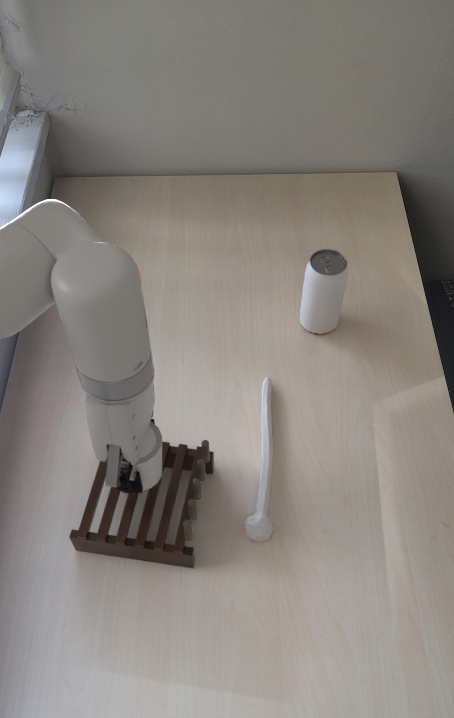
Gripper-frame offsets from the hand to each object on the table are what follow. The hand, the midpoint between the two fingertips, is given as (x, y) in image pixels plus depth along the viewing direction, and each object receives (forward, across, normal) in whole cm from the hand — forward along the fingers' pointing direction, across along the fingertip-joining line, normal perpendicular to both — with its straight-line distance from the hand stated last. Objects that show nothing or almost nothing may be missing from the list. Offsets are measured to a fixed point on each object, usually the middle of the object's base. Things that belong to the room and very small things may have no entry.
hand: (137, 462), depth 79 cm
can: (+12, -39, +20) cm, 45 cm away
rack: (+11, 0, 0) cm, 11 cm away
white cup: (+2, 0, 0) cm, 2 cm away
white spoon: (+12, -11, +14) cm, 21 cm away
